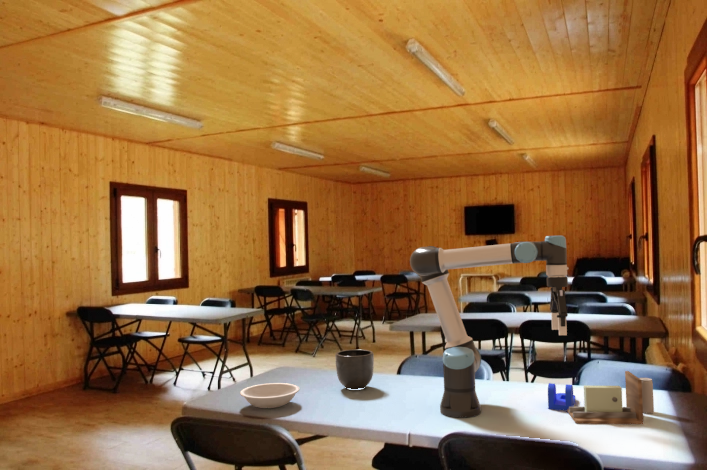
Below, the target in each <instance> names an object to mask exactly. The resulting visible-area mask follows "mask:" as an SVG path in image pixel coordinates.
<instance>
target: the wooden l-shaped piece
mask: <svg viewBox="0 0 707 470" xmlns="http://www.w3.org/2000/svg"><path fill="white" fill-rule="evenodd" d="M624 377H625V400H626V401H625V402H626V403H625V404H626V405H625V406H622V410H623V412H585V406H574V407H569V409H567V411H566V412H567V413H568V415H569V417H571V419H572V420H573V421H574V423H575V424H589V425H590V424H595V425H597V424H599V425H601V424H603V425H605V424H606V425H644V413H643V401H642V380H641V379H639V378H640V377H638V376H636V375H635V374H633V373H632V372H630V371H629V370H624Z"/></svg>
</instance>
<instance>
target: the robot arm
mask: <svg viewBox="0 0 707 470" xmlns="http://www.w3.org/2000/svg"><path fill="white" fill-rule="evenodd" d="M567 249H568V248H567V239H566V237H565V236H564V235H546V236H545V237H544V240H541V241H518V242H517V241H516V242H512V243H510V242H509V243H501V244H493V245H492V244H491V245H480V246H479V245H478V246H473V247H472V246H471V247H461V248H449V249H443V248H442V247H436V246H433V245H432V246H431V245H428V246H421V247H418V248H416V249H415V250H414V251H412V253H411V255H410V257H409V265H410V268H411V270H412V271H413V272H414V273H415V274H416V275H418V276H419V278H420V280H421V283H422V284H424V285H425V286H427V289H428V292H429V295H430V297H431V301H432V304H433V306H434V310H435V313H436V315H437V317H438V318H437V319H438V320H439V323H440V326H441V330H442V332H443V335H444V338H445V340H446V343H445V345H444V349H445V350H444V351H443V353H442V363H443V365H442V367H443V368H442V370H443V394H442V397H441V402H440V404H439V407H440V408H439V411H440V413H441V414H443V416H448V417H454V418H471V417H477V416H479V415H480V414H481V413H482V408H481V403H480V400H479V398H478V395H477V392H476V372H477V371H478V370H479V369H480V367H481V365H482V356H481V352H480V350H478V348H477V347H476V345H475V342H474V339H473V337H471V336H468V334H467V331H466V328H465V325H464V323H463V320H462V317H461V314H460V312H459V311H460V310H458V309H459V308H458V306H457V303H456V300H455V297H454V295H453V292H452V289H451V286H450V284H449V281H448V277H449V276H450V272H449V270H455V269H466V268H468V269H469V268H478V267H480V268H481V267H488V266H489V267H490V266H500V265H513V264H528V263H532V262H541V261H542V262H546V263H545V270H546V271H545V274H546V276H547V277H546V286H547V287H549V288H550V306H549V311H550V315H551V317H550V318H551V330H552V331H554V330H555V331H558V336H568V335H567V334H568V332H567V331H568V329H567V328H568V327H567V325H568V324H567V317H568V316H569V315H568V310H567V302H566V291H565V289H563V288H564V287H565V288H566V287H568V286H569V281H568V280H569V279H568V278H569V277H568V270H569V266H568V263H567V261H568V260H567V259H568V255H567Z"/></svg>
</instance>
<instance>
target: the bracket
mask: <svg viewBox="0 0 707 470" xmlns="http://www.w3.org/2000/svg"><path fill="white" fill-rule="evenodd" d="M556 385H557V384H556V383H551V382H549V383H548V387H547V401H548V402H547V404H548V407H547V408H548V410H552V411H553V410H556V411H565V412H567V409H569V407H575V405H576V400H577V399H576V395H574V386H573V384H565V388H564V390H565V391H564V392H558V393H557V386H556Z"/></svg>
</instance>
